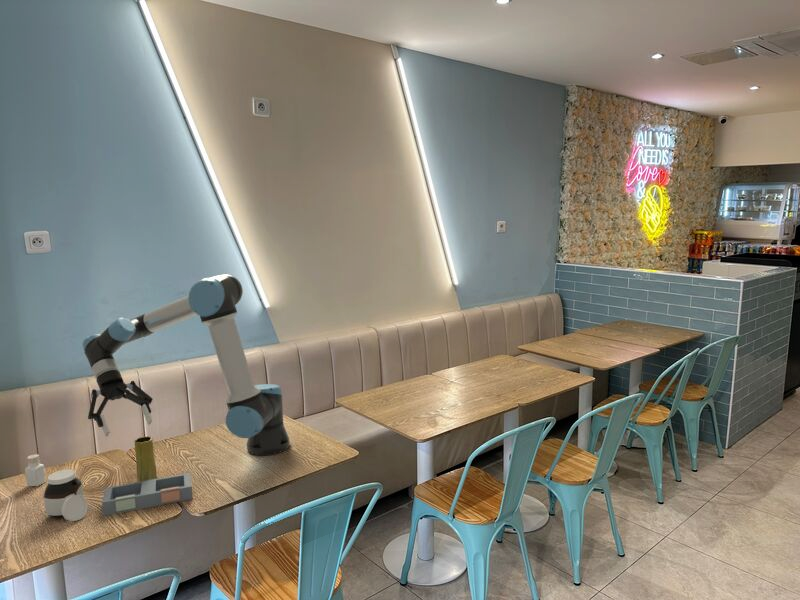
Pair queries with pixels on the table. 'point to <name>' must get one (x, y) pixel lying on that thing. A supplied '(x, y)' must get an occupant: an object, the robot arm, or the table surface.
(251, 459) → the table surface
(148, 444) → the vase
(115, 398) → the robot arm
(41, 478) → the salt shaker
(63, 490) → the spread jar
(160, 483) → the sorting tray
